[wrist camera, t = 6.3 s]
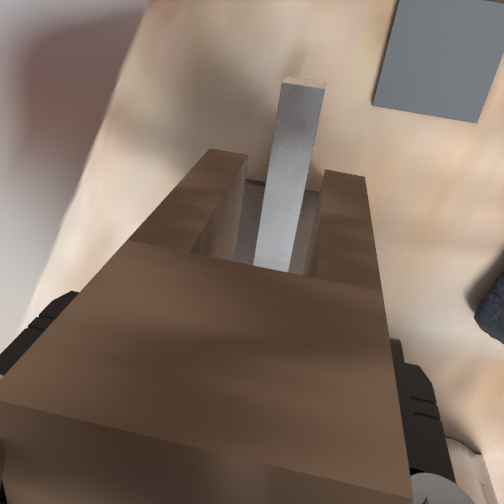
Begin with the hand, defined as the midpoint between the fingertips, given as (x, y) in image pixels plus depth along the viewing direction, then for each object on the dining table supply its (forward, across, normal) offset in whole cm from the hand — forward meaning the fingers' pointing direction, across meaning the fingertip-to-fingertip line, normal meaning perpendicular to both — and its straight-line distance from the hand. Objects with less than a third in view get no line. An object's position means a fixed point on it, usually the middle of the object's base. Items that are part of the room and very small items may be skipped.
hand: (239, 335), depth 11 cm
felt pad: (+29, -9, -5) cm, 31 cm away
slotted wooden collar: (+8, 0, 0) cm, 8 cm away
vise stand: (+29, +3, +5) cm, 30 cm away
